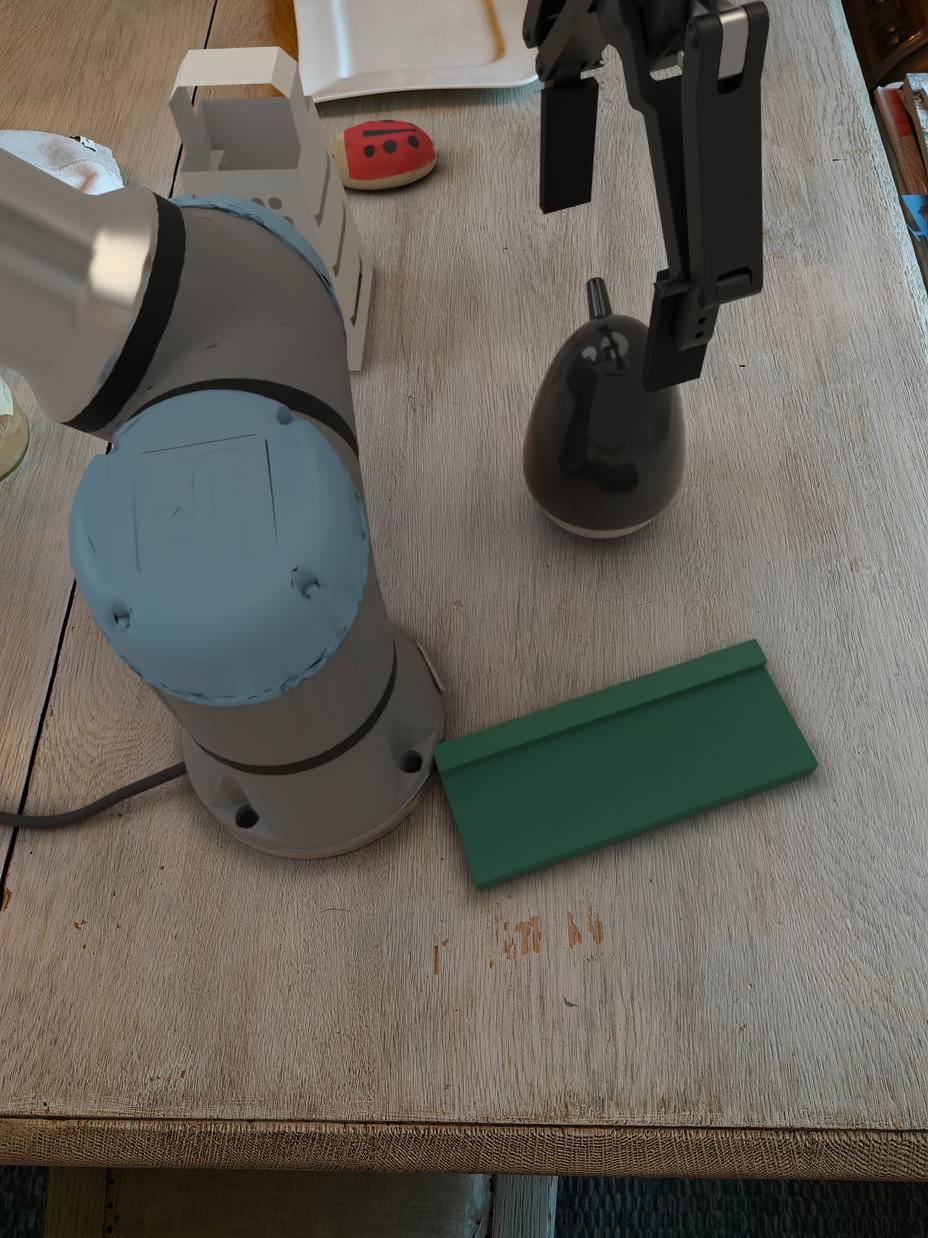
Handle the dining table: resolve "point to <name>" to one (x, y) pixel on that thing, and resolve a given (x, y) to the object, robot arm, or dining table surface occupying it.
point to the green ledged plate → (619, 763)
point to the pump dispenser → (603, 430)
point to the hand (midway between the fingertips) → (613, 286)
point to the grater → (273, 163)
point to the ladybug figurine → (383, 154)
